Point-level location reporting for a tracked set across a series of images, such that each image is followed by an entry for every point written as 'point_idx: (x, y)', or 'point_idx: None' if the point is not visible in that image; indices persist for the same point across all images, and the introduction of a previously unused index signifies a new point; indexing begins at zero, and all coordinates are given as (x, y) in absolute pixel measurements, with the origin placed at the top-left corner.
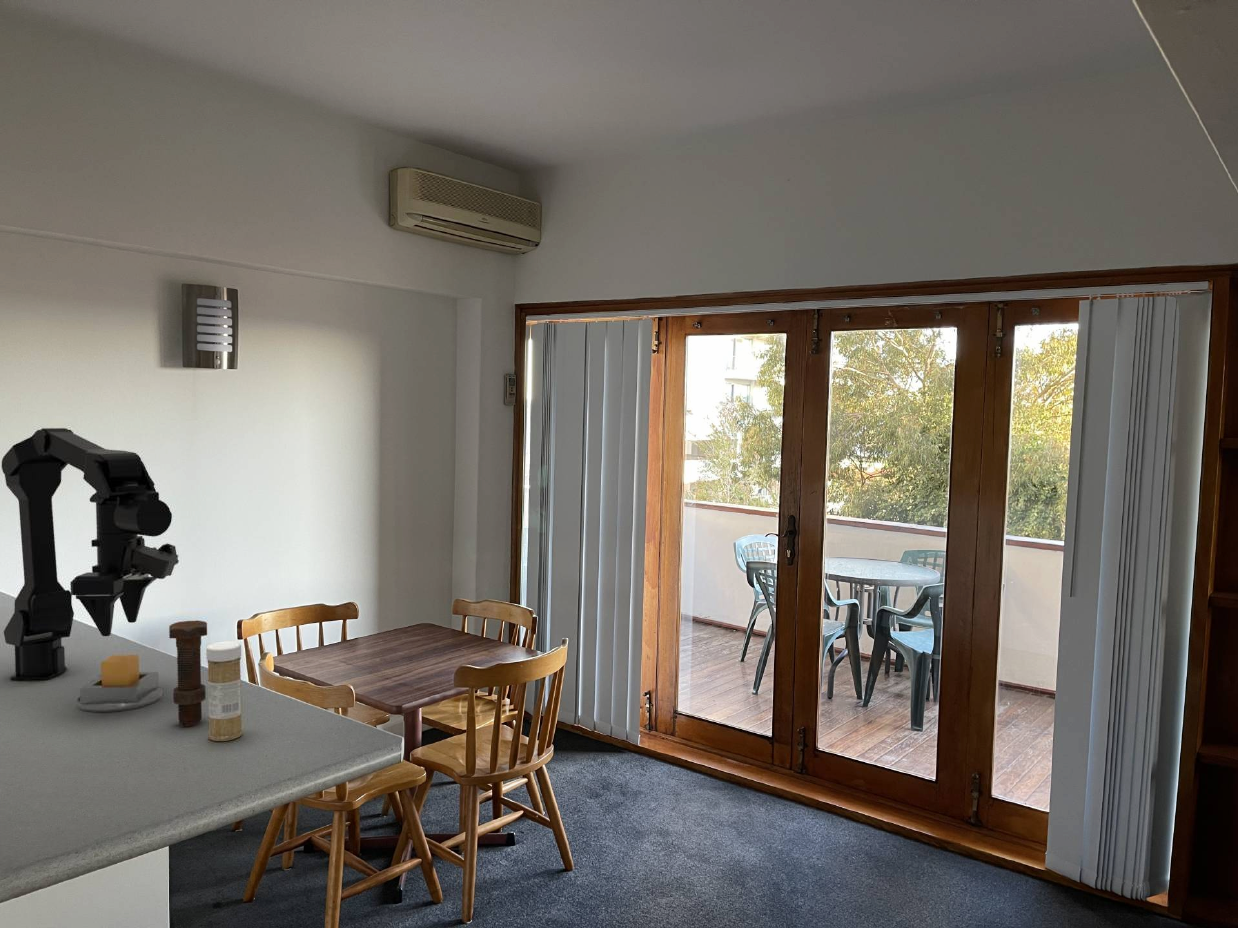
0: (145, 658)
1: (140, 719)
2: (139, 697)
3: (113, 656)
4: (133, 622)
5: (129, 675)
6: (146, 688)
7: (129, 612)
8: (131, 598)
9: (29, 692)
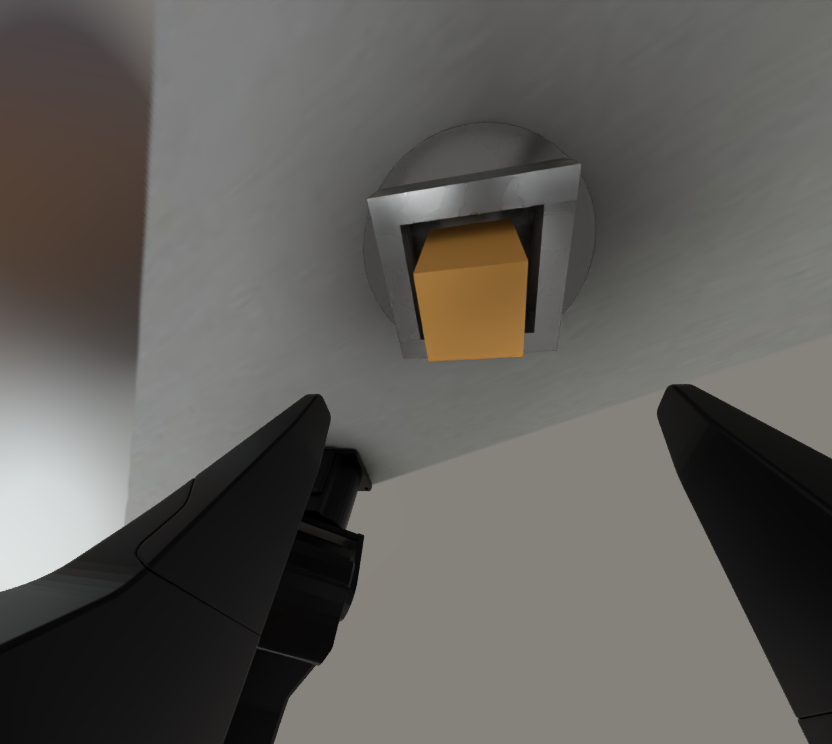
0: (174, 367)
1: (730, 38)
2: (541, 163)
3: (444, 351)
4: (322, 397)
5: (508, 241)
6: (478, 176)
7: (307, 456)
8: (245, 540)
9: (425, 446)
